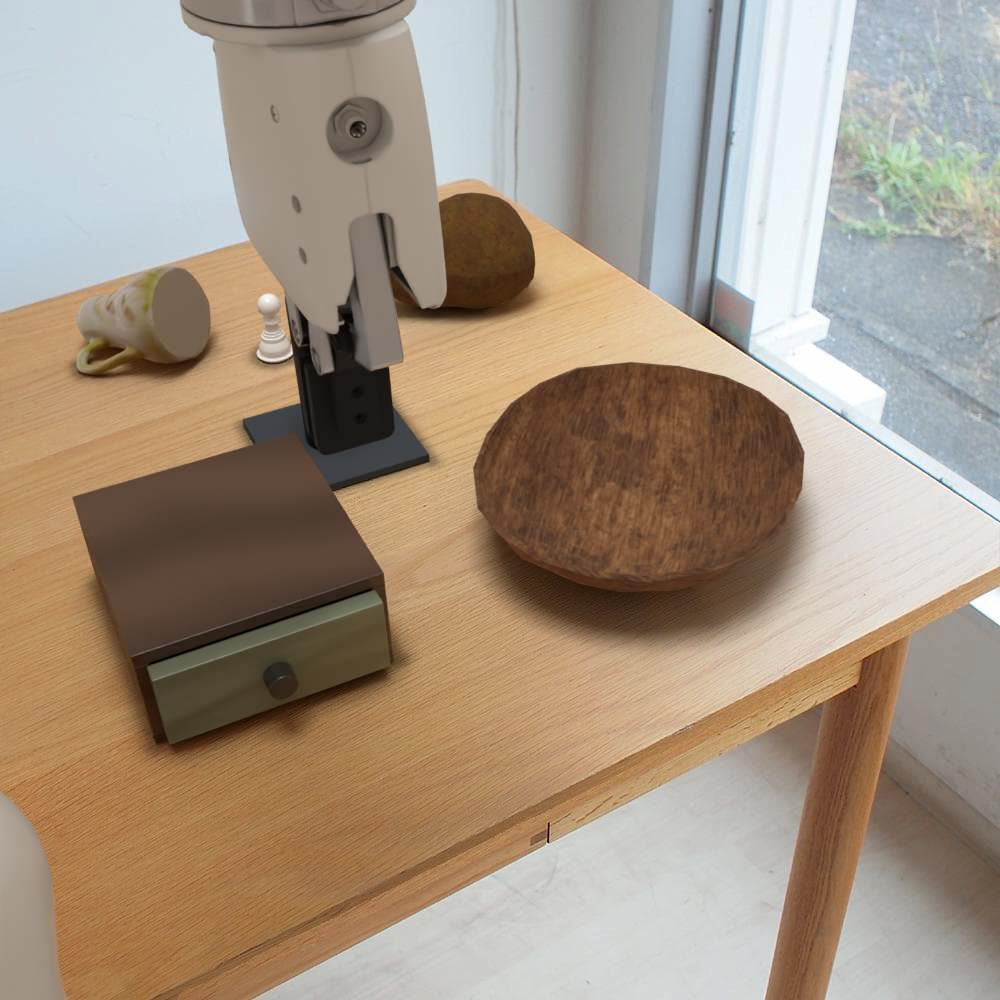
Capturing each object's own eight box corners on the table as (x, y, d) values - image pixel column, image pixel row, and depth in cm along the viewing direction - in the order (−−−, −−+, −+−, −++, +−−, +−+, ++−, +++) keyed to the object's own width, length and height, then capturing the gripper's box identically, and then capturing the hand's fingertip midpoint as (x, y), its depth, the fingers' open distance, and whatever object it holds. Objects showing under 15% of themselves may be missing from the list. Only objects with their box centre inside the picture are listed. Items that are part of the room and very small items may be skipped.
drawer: (399, 680, 72) (391, 616, 69) (175, 761, 68) (157, 697, 65) (310, 527, 82) (300, 466, 79) (112, 590, 78) (94, 527, 75)
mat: (288, 504, 86) (287, 497, 85) (243, 425, 93) (242, 418, 92) (430, 461, 89) (429, 453, 89) (375, 388, 96) (375, 381, 96)
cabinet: (394, 660, 74) (384, 572, 70) (156, 745, 70) (130, 657, 66) (308, 515, 85) (295, 431, 81) (97, 581, 80) (71, 496, 76)
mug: (104, 320, 105) (146, 218, 100) (197, 394, 104) (245, 295, 99) (39, 345, 99) (81, 238, 94) (137, 424, 98) (185, 320, 93)
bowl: (427, 605, 78) (421, 540, 75) (539, 402, 94) (538, 341, 91) (761, 676, 72) (770, 609, 69) (819, 448, 89) (828, 385, 85)
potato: (395, 271, 110) (386, 172, 104) (538, 271, 109) (537, 172, 103) (382, 323, 103) (371, 221, 98) (534, 324, 102) (532, 221, 97)
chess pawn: (250, 360, 99) (240, 302, 96) (267, 341, 102) (257, 284, 98) (284, 366, 99) (275, 308, 96) (300, 346, 101) (292, 289, 98)
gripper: (504, 6, 38) (517, 512, 49) (327, -107, 48) (371, 329, 60) (250, 53, 35) (325, 574, 46) (122, -77, 46) (209, 371, 57)
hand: (351, 435), depth 53 cm, fingers closed
